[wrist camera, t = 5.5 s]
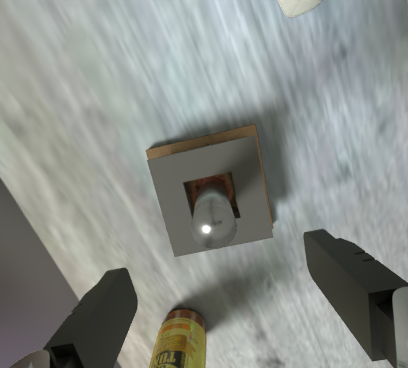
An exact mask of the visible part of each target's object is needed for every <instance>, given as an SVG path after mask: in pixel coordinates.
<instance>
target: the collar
mask: <svg viewBox="0 0 408 368" xmlns="http://www.w3.org/2000/svg"><path fill="white" fill-rule="evenodd" d="M147 162H148V165H149V169H150V172H151V176H152V179H153V183H154V186H155V190H156V193H157V197H158V200H159V204H160V207H161V211H162V214H163V218H164V221H165V225H166V228H167V232H168V235H169V239H170V242H171V246H172V249H173V253H174V256H175V257H177V256H182V255H187V254H192V253H197V252H202V251H207V250H212V249H209V248H206V247H203V246H202V245H200V244H199V243H198V242H197V241H196V240H195V239H194V237H193V235H192V232H191V223H192V218H193V209H192V206H191V202H190V198H189V194H188V190H187V186H186V182H187V181H191V180H196V179H200V178H205V177H209V176H214V175H218V174H223V173H227V172H230V173H231V178H232V183H233V188H234V193H235V197H236V202H237V207H238V212H236V213H233V214H234V217H235V220H236V223H237V232H236V235H235V237H234V239H233V240H232V241H231V242H230V243H229V244H228V245H226V246H225V247H227V246H233V245H238V244H243V243H248V242H253V241H258V240H263V239H268V238H273V233H272V228H271V222H270V216H269V210H268V205H267V199H266V193H265V187H264V182H263V176H262V170H261V165H260V159H259V153H258V147H257V142H256V136H255V135H253V136H248V137H243V138H239V139H235V140H231V141H226V142H222V143H218V144H213V145H209V146H205V147H201V148H196V149H192V150H188V151H183V152H179V153H175V154H171V155H166V156H162V157H158V158H153V159H150V160H147Z"/></svg>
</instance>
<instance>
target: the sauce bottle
mask: <svg viewBox="0 0 408 368" xmlns="http://www.w3.org/2000/svg"><path fill="white" fill-rule="evenodd" d="M205 365H206V326H205V322H204V320H203V318H202V317H201V316H200V315H199V314H198V313H196V312H195V311H192V310H188V309H179V310H174V311H173V312H171V313H169V315H167V317H166V318H165V320H164V322H163V323H162V326H161V328H160V330H159V333H158V336H157V340H156V343H155V347H154V351H153V354H152V358H151V362H150V365H149V368H205Z"/></svg>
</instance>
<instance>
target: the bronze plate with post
mask: <svg viewBox="0 0 408 368" xmlns="http://www.w3.org/2000/svg"><path fill="white" fill-rule="evenodd" d="M253 135H255V136H256V142H257V147H258V153H259V159H260V165H261V170H262V176H263V182H264V187H265V193H266V199H267V205H268V210H269V216H270V222H271V228H272V229H273V223H272V217H271V212H270V206H269V200H268V194H267V188H266V183H265V177H264V171H263V165H262V159H261V154H260V148H259V142H258V136H257V130H256V125H255V124H253V125H249V126H245V127H241V128H237V129H232V130H228V131H224V132H220V133H215V134H211V135H207V136H203V137H199V138H194V139H190V140H186V141H182V142H177V143H173V144H169V145H165V146H161V147H156V148H152V149H148V150H146V153H147V157H148V160H150V159H153V158H158V157H162V156H166V155H171V154H175V153H179V152H183V151H188V150H192V149H196V148H201V147H205V146H209V145H213V144H218V143H222V142H226V141H231V140H235V139H239V138H243V137H248V136H253ZM186 186H187V190H188V194H189V198H190V202H191V206H192V209H193V218H192V223H191V232H192V235H193V237H194V239H195V240H196V241H197V242H198V243H199V244H200V245H202V246H203V247H206V248H209V249H219V248H222V247H225V246H226V245H228V244H229V243H230V242H231V241H232V240H233V239H234V237H235V235H236V232H237V223H236V220H235V217H234V214H233V213H236V212H238V207H237V202H236V197H235V193H234V188H233V183H232V178H231V173H230V172H227V173H223V174H218V175H214V176H209V177H205V178H200V179H196V180H191V181H187V182H186Z"/></svg>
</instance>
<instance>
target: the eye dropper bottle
mask: <svg viewBox="0 0 408 368" xmlns="http://www.w3.org/2000/svg"><path fill="white" fill-rule="evenodd" d="M322 1H323V0H278V3H279V5H280V7H281V9H282V11H283V12H284V14H285V16H286V17H288V18H292V17H297V16H300V15H302V14H304V13H306V12H308V11H310V10H312V9H313V8H315V7H316V6H317V5H318V4H319V3H321V2H322Z"/></svg>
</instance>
